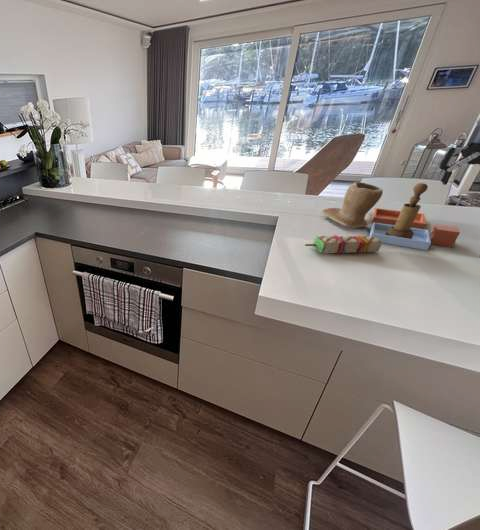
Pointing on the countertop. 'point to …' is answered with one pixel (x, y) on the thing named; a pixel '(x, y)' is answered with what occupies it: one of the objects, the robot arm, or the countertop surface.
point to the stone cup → (355, 205)
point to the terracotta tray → (392, 216)
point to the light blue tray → (418, 240)
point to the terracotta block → (444, 235)
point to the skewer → (346, 244)
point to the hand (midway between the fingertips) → (465, 185)
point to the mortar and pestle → (408, 215)
